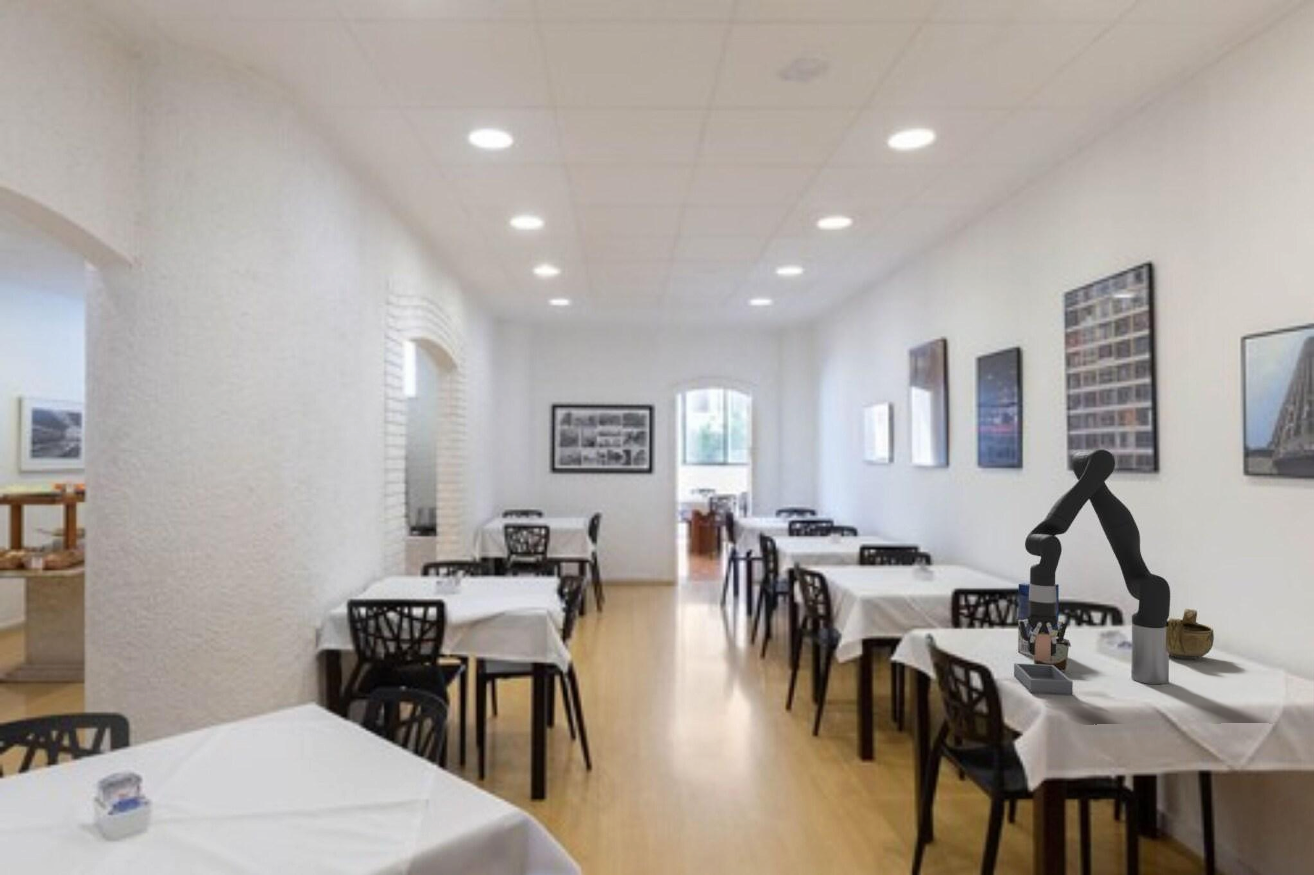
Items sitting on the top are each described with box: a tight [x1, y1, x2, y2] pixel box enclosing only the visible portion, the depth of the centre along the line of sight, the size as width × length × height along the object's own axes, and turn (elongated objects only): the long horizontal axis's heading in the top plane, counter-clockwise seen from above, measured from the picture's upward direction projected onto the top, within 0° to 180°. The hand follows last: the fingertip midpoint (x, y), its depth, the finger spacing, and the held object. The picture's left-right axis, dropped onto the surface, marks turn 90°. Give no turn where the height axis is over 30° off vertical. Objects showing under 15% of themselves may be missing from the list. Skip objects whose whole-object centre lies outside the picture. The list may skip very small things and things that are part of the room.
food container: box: [1033, 638, 1072, 672], centre depth 267 cm, size 12×6×10 cm, turn 84°
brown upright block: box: [1032, 632, 1051, 662], centre depth 249 cm, size 5×5×8 cm
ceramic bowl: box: [1166, 608, 1215, 660], centre depth 281 cm, size 22×17×15 cm
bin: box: [1013, 662, 1074, 696], centre depth 248 cm, size 12×18×4 cm, turn 171°
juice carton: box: [1017, 582, 1060, 657], centre depth 286 cm, size 12×8×24 cm, turn 121°
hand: (1041, 654), depth 249 cm, fingers closed on brown upright block, 5 cm apart
